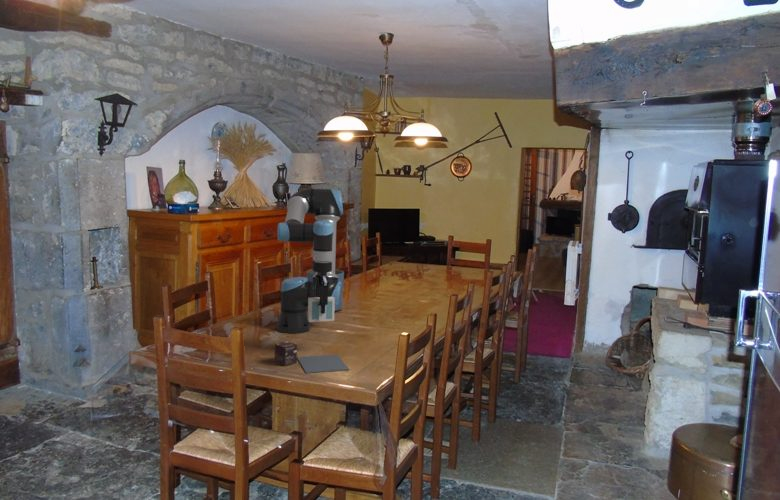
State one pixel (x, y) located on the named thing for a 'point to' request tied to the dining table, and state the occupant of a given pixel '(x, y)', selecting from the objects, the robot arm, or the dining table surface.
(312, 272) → the planter
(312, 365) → the mat
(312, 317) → the light grey flat block
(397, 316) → the dining table surface
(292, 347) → the box
